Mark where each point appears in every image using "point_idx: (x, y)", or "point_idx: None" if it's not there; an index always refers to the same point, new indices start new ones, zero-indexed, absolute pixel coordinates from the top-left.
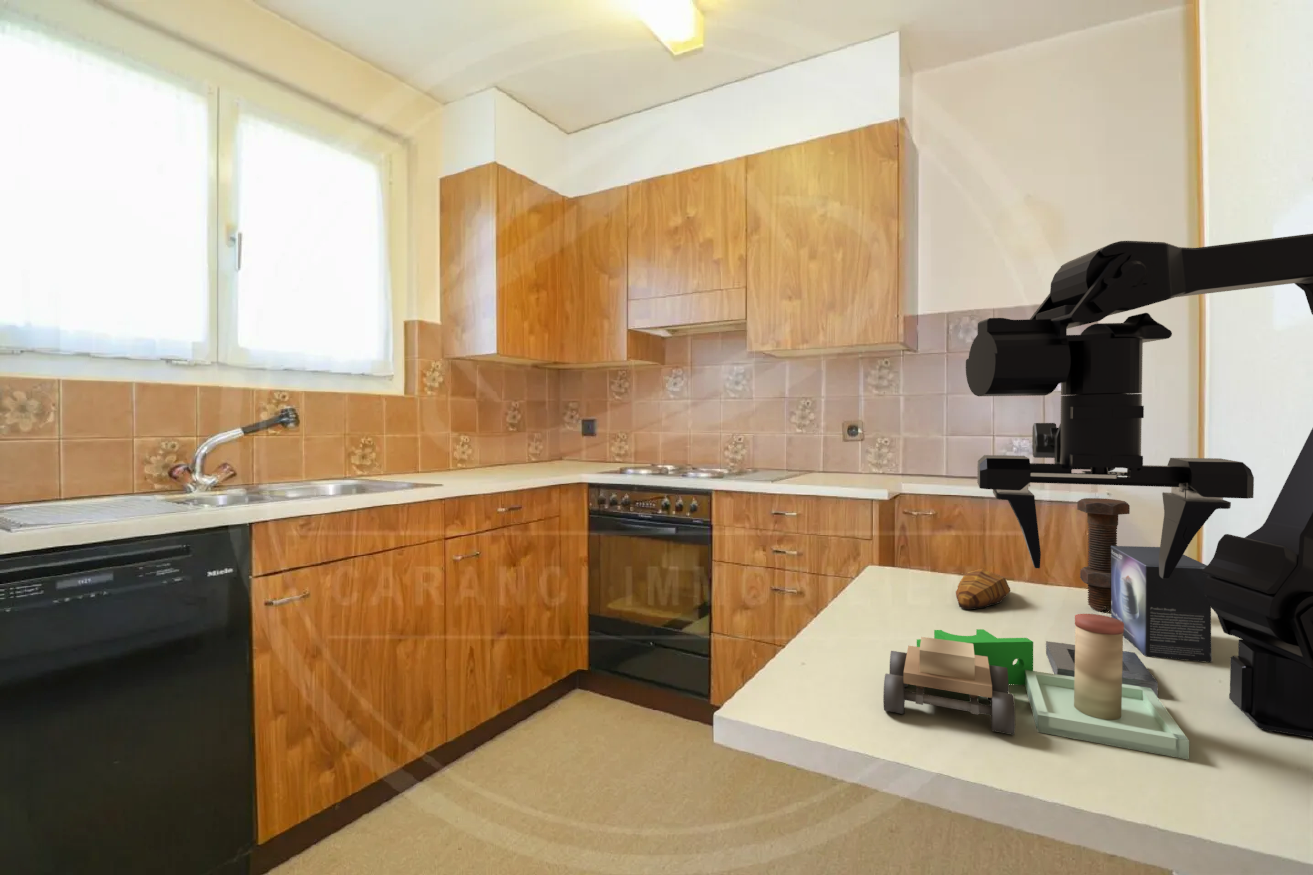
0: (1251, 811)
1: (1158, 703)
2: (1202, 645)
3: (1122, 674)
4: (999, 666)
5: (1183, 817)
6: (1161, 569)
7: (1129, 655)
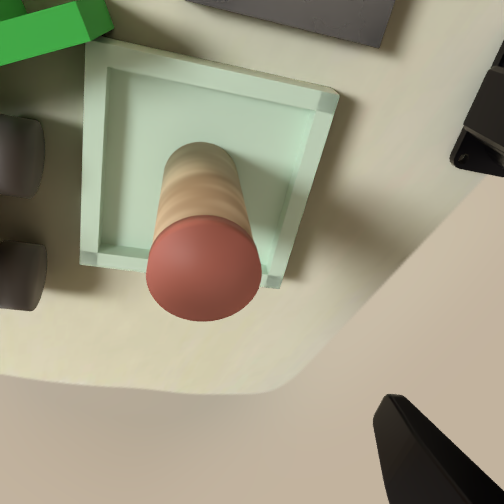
0: (277, 353)
1: (309, 172)
2: None
3: (325, 9)
4: (2, 157)
5: (202, 377)
6: (388, 431)
7: None
